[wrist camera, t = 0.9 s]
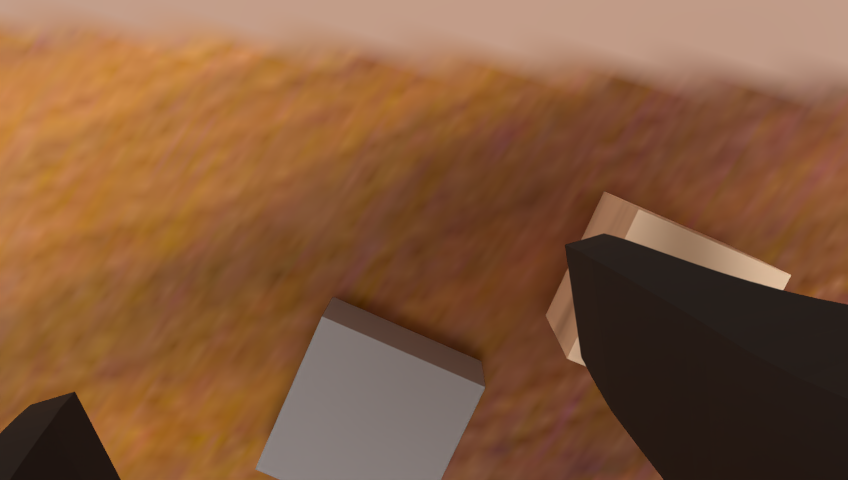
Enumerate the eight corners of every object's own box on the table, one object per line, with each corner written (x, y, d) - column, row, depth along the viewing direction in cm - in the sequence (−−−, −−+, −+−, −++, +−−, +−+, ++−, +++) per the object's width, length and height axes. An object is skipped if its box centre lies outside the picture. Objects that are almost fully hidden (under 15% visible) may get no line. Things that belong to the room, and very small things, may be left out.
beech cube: (729, 245, 28) (790, 274, 23) (667, 367, 29) (715, 420, 24) (603, 190, 28) (638, 209, 23) (545, 314, 29) (567, 358, 24)
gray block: (480, 358, 29) (485, 387, 26) (416, 493, 30) (413, 536, 27) (334, 294, 29) (321, 316, 26) (273, 433, 30) (255, 469, 27)
